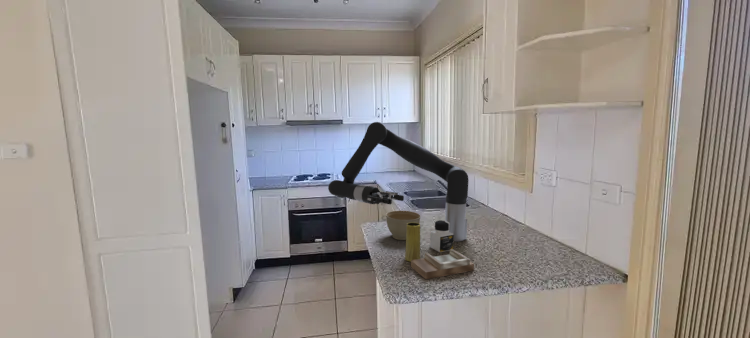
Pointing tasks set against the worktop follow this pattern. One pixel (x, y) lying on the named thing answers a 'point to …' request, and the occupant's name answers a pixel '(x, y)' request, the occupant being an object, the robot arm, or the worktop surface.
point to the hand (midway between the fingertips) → (397, 200)
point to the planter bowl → (400, 222)
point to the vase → (412, 241)
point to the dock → (442, 265)
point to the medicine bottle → (441, 237)
